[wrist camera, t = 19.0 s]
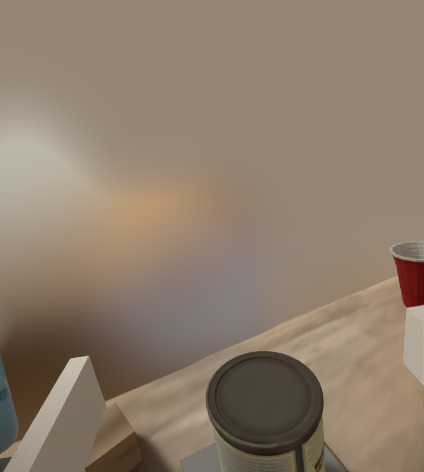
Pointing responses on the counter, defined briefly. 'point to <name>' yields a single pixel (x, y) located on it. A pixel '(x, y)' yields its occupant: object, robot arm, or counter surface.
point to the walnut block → (114, 444)
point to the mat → (208, 465)
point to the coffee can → (267, 414)
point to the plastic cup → (410, 271)
